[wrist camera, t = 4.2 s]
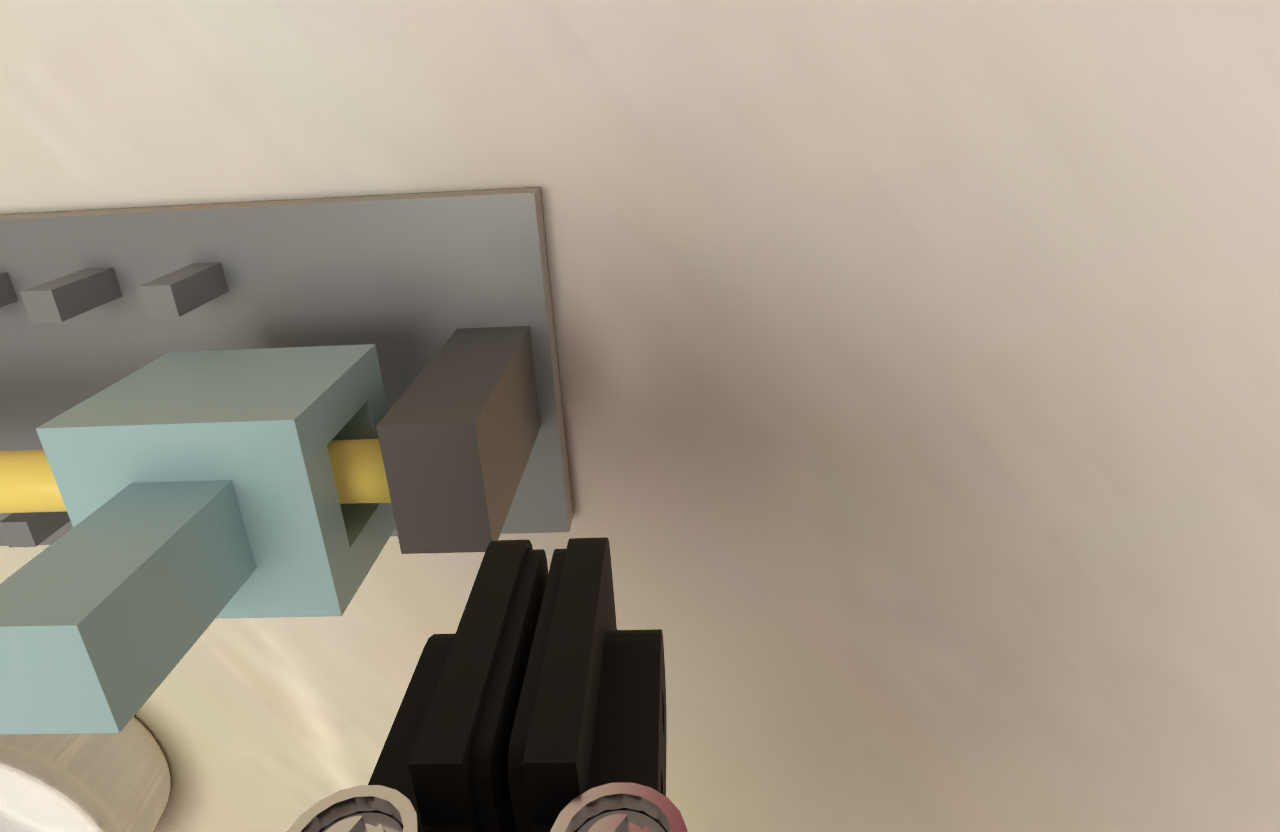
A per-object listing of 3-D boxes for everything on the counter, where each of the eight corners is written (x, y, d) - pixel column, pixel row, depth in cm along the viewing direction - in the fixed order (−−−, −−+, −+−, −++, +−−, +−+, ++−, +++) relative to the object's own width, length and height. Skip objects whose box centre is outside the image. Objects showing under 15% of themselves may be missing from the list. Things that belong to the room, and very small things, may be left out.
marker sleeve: (375, 343, 19) (153, 550, 11) (406, 508, 21) (235, 791, 13) (169, 352, 19) (-193, 559, 11) (217, 513, 21) (-68, 792, 13)
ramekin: (-43, 631, 29) (-159, 722, 25) (206, 708, 30) (133, 808, 26) (-52, 800, 32) (-155, 903, 28) (172, 865, 33) (103, 974, 29)
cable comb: (540, 187, 22) (464, 255, 14) (573, 515, 26) (528, 706, 18) (-298, 230, 23) (-773, 312, 16) (-146, 533, 27) (-466, 717, 20)
